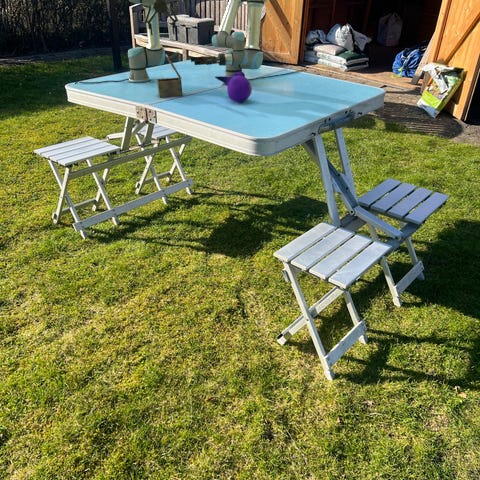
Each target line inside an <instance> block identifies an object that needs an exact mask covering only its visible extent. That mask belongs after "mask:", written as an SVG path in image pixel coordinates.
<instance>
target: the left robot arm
mask: <svg viewBox="0 0 480 480" xmlns="http://www.w3.org/2000/svg"><path fill="white" fill-rule="evenodd" d="M128 1H129V2H130V3H133V4H136V5H142V7H143V8H144V13H145V18H144V23H145V25H146V34H147V44H146V46H145V47H146V48H144V47H143V46H137V47H132V48H130V49H128V50H127V57H128V64H129V65H128V66H129V76H128V78H124V79H121V80H120V79H119V80H103V81H102V80H101V81H75V82H74V83H75V84H74V85H77V84H100V83H101V84H103V83H115V82H116V83H121V82H125V81H128V82H129V83H133V84H141V83H148V82H150V76H149V74H148V71H147V67H149V66H161V65H164V64H165V61H166V56H165V55H166V51H165V50H166V49H165V48H164V47H163V45H162V44H161V39H160V37H161V36H160V23H159V14H164V13H165V14H166V16H168V18H169V19H170V20H171V21H172V22H171V27H172V29H171V30H172V35H175V34H176V32H175V29H176V28H177V24H176V23H177V22H178V21H179V18H178V16H177V14H176V13H175V11H174V9H173V6H172V4H171V3H170V4H167V0H128ZM167 9H169V10H170V12H171V14H172V15H171V14H170V13H169V11H167ZM78 82H79V83H78ZM79 131H80V134H81V135H83V130H82V128H81V129H79Z"/></svg>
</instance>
